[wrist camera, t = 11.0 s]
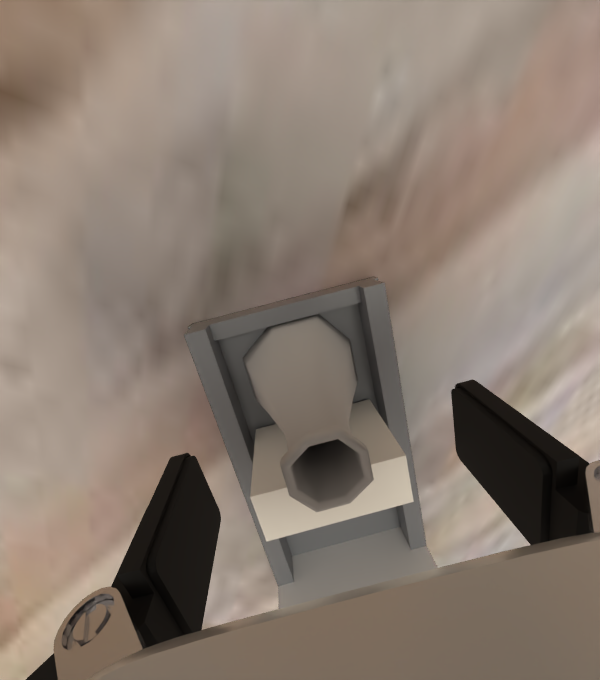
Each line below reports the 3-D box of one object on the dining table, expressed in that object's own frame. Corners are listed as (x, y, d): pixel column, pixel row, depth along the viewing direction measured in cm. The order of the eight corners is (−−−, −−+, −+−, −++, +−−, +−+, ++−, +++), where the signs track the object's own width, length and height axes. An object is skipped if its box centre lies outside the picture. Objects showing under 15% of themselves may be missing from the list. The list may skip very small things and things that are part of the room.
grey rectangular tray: (191, 324, 20) (158, 355, 14) (373, 276, 20) (415, 288, 14) (280, 568, 26) (282, 659, 20) (416, 531, 26) (457, 610, 21)
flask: (320, 290, 19) (371, 334, 9) (374, 381, 21) (460, 492, 11) (222, 352, 19) (176, 453, 10) (284, 434, 22) (295, 583, 12)
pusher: (255, 429, 21) (250, 497, 15) (369, 399, 21) (405, 455, 15) (267, 464, 22) (266, 541, 16) (376, 435, 22) (413, 501, 16)
